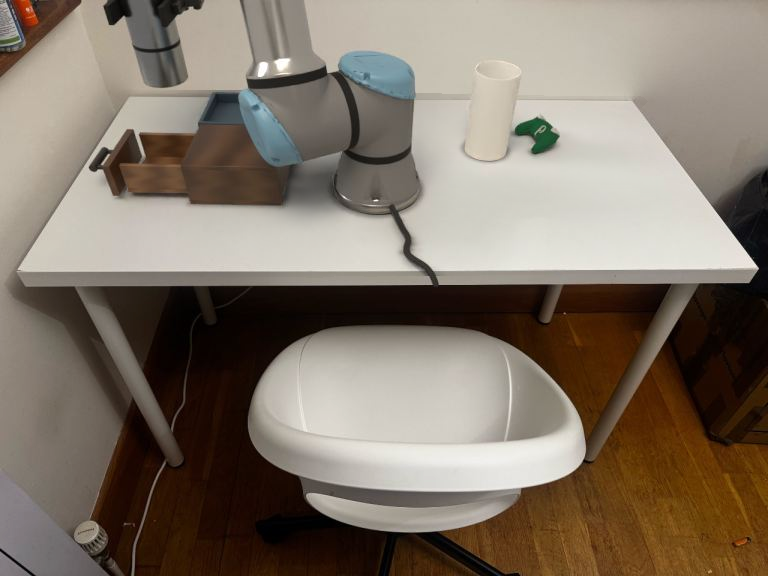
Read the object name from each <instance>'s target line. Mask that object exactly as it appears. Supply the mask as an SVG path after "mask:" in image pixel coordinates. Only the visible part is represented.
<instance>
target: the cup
mask: <svg viewBox="0 0 768 576" xmlns="http://www.w3.org/2000/svg"><path fill="white" fill-rule="evenodd" d="M521 77H522V69H521V68H520V66H518V65H517V64H514V63H511V62H509V61H504V60H485V61H481V62H479V63H477V65H475V67H474V73H473V81H472V88H471V95H470V102H469V103H470V104H469V111H468V118H467V126H466V133H465V140H464V152H465V154H466V155H468V156H469V157H471V158H472V159H476V160H477V161H483V162H494V161H498V160H501V159H503V158H504V157H506V155H507V152H508V147H509V141H510V135H511V130H512V125H513V121H514V120H513V119H514V115H515V110H516V105H517V99H518V94H519V88H520V83H521V79H522V78H521Z"/></svg>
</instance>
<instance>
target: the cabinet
mask: <svg viewBox="0 0 768 576" xmlns="http://www.w3.org/2000/svg"><path fill="white" fill-rule="evenodd" d="M195 133H196V134H195V136H194V138H193V141H192V143H191V145H190V147H189V149H188V151H187V153H186V155H185V157H184V159H183V161H182V163H181V165H180V166H181V169H182V174H183V177H184V181H185V185H186V188H187V192H188V193H187V196H188V200H189V203H190V204H193V205H233V206H234V205H236V206H237V205H239V206H240V205H241V206H242V205H243V206H282V204H283V200H284V196H285V191H286V187H287V183H288V179H289V178H288V177H289V174H290V170H291V166H292V164H291V165H286V166H281V167H275V166H272V165H270V164H269V163H267V162H266V161H265V160H264V158H263V157H262V156H261V155H260V153H259V152H258V150H257V148H256V146H255V145H254V143H253V141H252V139H251V137H250V135H249V132H248V130H247V128H246V125H209V124H200V126H199V127H198V128H197V130H196V132H195Z"/></svg>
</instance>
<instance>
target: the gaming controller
mask: <svg viewBox="0 0 768 576" xmlns="http://www.w3.org/2000/svg"><path fill="white" fill-rule="evenodd" d="M514 133H515V134H516V135H527V134H531V136H532V137H533V138H534V139H535V140H536V142H535V143H534V144H533V146H532V147H531V149H530V151H531V152H532V153H534V154H537V153H540V152H543V151H546V150H547V149H549V148H551V147H552V146H553V145H554V144H556V143H557V141H558V140H559V138H560V132H559V131H558V130H557V128H555V127H554V126H553V125H552V124H551V123H550V122H548V121H547V119H546V118H545V117H544V115H542V114H541V113H539V114H538V115H537V116H535V117H534V118H532V119H529V120H526V121H522V122H520V123H518V124H517V125H515V128H514Z"/></svg>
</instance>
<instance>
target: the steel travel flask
mask: <svg viewBox="0 0 768 576" xmlns="http://www.w3.org/2000/svg"><path fill="white" fill-rule="evenodd" d="M163 1H164V0H120V3H121V6H122V10H123V13H124V16H123V18H124V20H125V23H126V26H127V27H126V28H127V30H128V33H129V37H130V41H131V46H132V48H133V50H134V51H133V52H134V55H135V57H136V62H137V64H138V68H139V71H140V75H141V79H142V82H143V84H144V85H146V86H148V87H149V88H153V89H168V88H173V87H177V86H179V85H182V84H183V83H185V82H186V81H187V80H188V79H189V72H188V69H187V65H186V64H187V63H186V60H185V56H184V52H183V47H182V43H181V36H180V34H179V30H178V26H177V21H176V18H175V19H174V20H173V21H172V22H171V23H170V25H169V26H168V27H162V24H161V20H160V16H159V12H158V7H159V5H160V4H161V3H162V2H163Z"/></svg>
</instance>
